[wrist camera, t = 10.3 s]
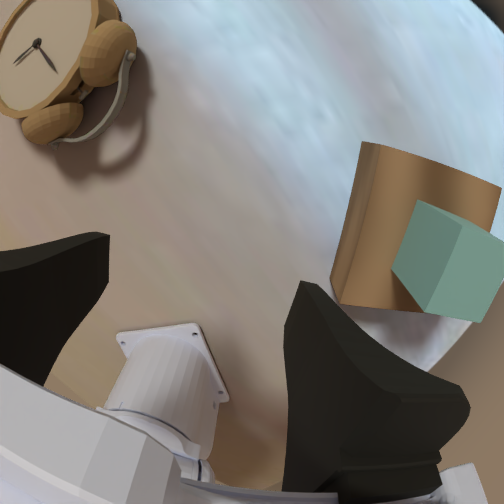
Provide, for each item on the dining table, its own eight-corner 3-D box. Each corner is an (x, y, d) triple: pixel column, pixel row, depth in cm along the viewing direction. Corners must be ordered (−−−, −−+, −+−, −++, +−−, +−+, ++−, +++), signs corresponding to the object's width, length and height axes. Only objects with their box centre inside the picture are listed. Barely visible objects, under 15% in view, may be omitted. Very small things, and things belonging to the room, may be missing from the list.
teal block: (469, 221, 16) (515, 249, 12) (443, 282, 18) (480, 323, 14) (417, 199, 16) (462, 225, 12) (391, 268, 18) (424, 312, 13)
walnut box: (471, 176, 19) (501, 188, 15) (435, 290, 23) (456, 315, 19) (360, 141, 19) (381, 144, 15) (328, 275, 23) (339, 303, 19)
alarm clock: (60, -44, 10) (150, 42, 12) (93, -22, 15) (185, 69, 17) (-24, 65, 13) (28, 190, 15) (13, 72, 18) (76, 184, 20)
